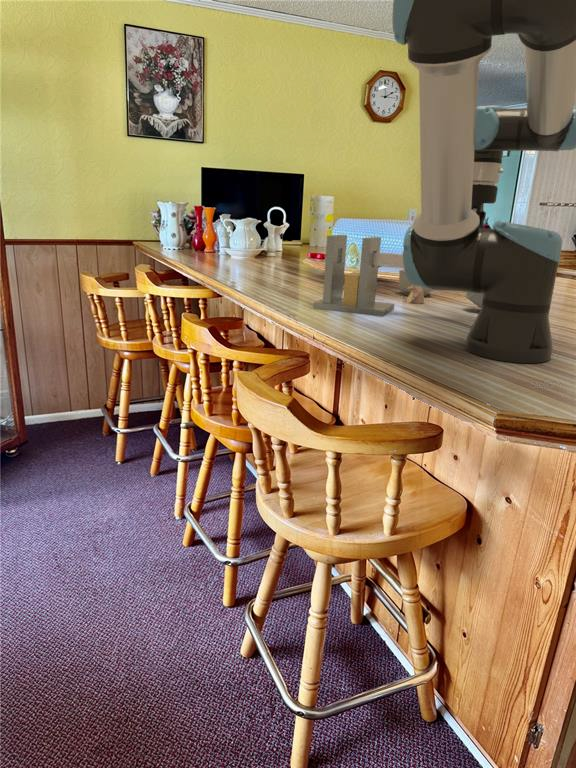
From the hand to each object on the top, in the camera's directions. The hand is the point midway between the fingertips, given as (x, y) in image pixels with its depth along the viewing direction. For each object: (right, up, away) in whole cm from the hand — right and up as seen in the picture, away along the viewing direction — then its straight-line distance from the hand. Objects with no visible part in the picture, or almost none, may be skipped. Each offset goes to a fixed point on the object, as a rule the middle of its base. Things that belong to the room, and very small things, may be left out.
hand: (465, 285), depth 127 cm
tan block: (-25, +1, +11) cm, 27 cm away
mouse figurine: (-5, -1, +27) cm, 27 cm away
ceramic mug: (+10, -4, +18) cm, 21 cm away
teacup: (-2, +4, +42) cm, 42 cm away
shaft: (-9, +4, +3) cm, 11 cm away
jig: (-25, -4, +12) cm, 28 cm away
